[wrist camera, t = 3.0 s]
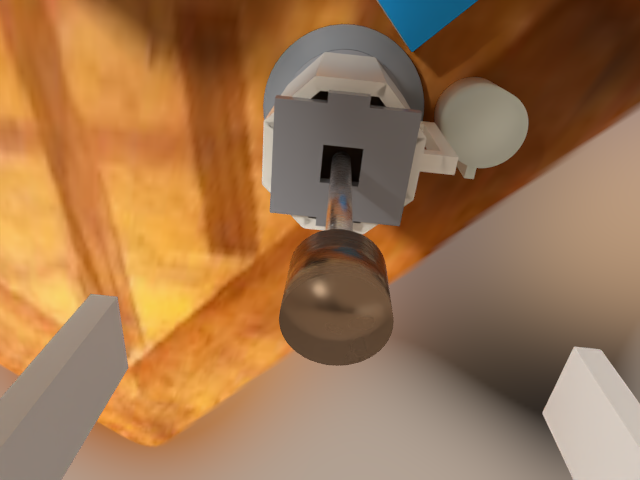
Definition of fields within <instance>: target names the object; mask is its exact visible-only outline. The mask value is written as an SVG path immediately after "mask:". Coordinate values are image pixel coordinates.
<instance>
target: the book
mask: <svg viewBox="0 0 640 480" xmlns="http://www.w3.org/2000/svg"><path fill="white" fill-rule="evenodd" d="M477 1H478V0H377V2H378V3H379V5H380V6H381V8H382V9H383V11H384V12H385V14H386V15H387V17H388V19H389V20H390V22H391V23H392V25H393V26H394V28H395V29H396V31H397V32H398V34H399V35H400V37H401V38H402V40H403V41H404V43H405V44H406V45H407V46H408V47H409V49H410V50H411V52H413V51H415V50H416V49H417V48H418V47H420V46H421V45H422V44H423V43H425V42H426V41H427V40H429V39H430V38H431V37H432V36H434V35H435V34H436V33H437V32H439V31H440V30H441V29H442V28H444V27H445V26H446V25H448V24H449V23H450V22H451V21H453V20H454V19H455V18H456V17H458V16H459V15H460V14H461V13H463V12H464V11H465V10H467V9H468V8H469V7H470V6H472V5H473V4H474V3H475V2H477Z"/></svg>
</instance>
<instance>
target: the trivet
mask: <svg viewBox="0 0 640 480" xmlns="http://www.w3.org/2000/svg"><path fill="white" fill-rule="evenodd" d="M337 49H352V50H358V51H361V52H364V53H367V54H369V55H371V56H373V57H375V58H376V59H378V60H379V61H381V62H382V63H383V64H384V65H385V66H386V67H387V68H388V69H389V70H390V72H391V73H392V74H393V76H394V78H395V79H396V81H397V83H398V85H399V87H400V90H401V93H402V95H403V97H404V98H405V100H406V102H407V104H408V105H409V107H410V109H413V110H420V111H421V112H422V117H421V121H423V115H424V95H423V88H422V85H421V81H420V78H419V75H418V73H417V70H416V68H415V66H414V65H413V63H412V61H411V60H410V58H409V57H408V56H407V54H406V53H405V52H404V51H403V50H402V49H401V48H400V47H399V46H398V45H397V44H396V43H395V42H394V41H393V40H391V39H390V38H388V37H387V36H386V35H384V34H382V33H380V32H378V31H376V30H374V29H371V28H368V27H365V26H359V25H354V24H337V25H330V26H326V27H322V28H319V29H316V30H314V31H312V32H309V33H308V34H306V35H304V36H303V37H301V38H299V39H298V40H297V41H296V42H294V43H293V44H292V45H291V46H290V47H289V48H288V49H287V50H286V51H285V52H284V53H283V54H282V56H281V57H280V58H279V60H278V61H277V63H276V64H275V66H274V68H273V70H272V72H271V74H270V76H269V79H268V82H267V85H266V89H265V94H264V104H263V107H264V120H265V119H266V117H267V115H268V114H269V112H270V111H271V109H272V108H273V106H274V103H275V97H276V95H281V94H282V93H283V91H284V90H285V88H286V87H287V85H288V84H289V83H290V82H291V80H292V78H293V77H294V76H295V74H296V73H297V72H298V70H299V69H300V68H301V67H302V66H303V65H304V64H305V63H307V62H308V61H309V60H310V59H312V58H314V57H315V56H317V55H319V54H322V53H324V52H327V51H331V50H337Z"/></svg>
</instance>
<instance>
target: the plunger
mask: <svg viewBox="0 0 640 480" xmlns="http://www.w3.org/2000/svg"><path fill="white" fill-rule="evenodd" d="M279 324H280V329H281V332H282V334H283V336H284V338H285V340H286V341H287V343H288V344H289V345H290V346H291V347H292V348H293V349H294V350H295V351H296V352H297V353H299V354H300V355H302V356H303V357H305V358H307V359H309V360H312V361H314V362H317V363H321V364H326V365H349V364H354V363H358V362H361V361H364V360H366V359H368V358H370V357H371V356H373V355H375V354H376V353H377V352H378V351H380V350H381V349H382V348H383V347H384V346H385V344H386V343H387V341H388V340H389V337H390V336H391V333H392V329H393V313H392V306H391V300H390V292H389V285H388V278H387V271H386V264H385V260H384V257H383V255H382V253H381V251H380V250H379V248H378V247H377V246H376V245H375V244H374V243H373V242H372V241H371V240H370V239H368V238H367V237H365V236H363V235H362V234H359V233H357V232H354V231H353V222H352V180H351V158H350V156H349V154H348V153H346V152H343V151H340V152H337V153H335V154H334V155H333V157H332V163H331V174H330V185H329V196H328V207H327V218H326V229H325V230H324V231H321V232H318V233H315V234H313V235H311V236H310V237H308V238H306V239H305V240H304V241H303V242H302V243H301V244H300V245H299V246H298V247H297V248H296V250H295V251H294V254H293V256H292V258H291V262H290V267H289V271H288V276H287V281H286V285H285V290H284V295H283V300H282V304H281V309H280V315H279Z"/></svg>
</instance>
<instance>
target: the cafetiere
mask: <svg viewBox="0 0 640 480" xmlns="http://www.w3.org/2000/svg"><path fill="white" fill-rule="evenodd" d="M421 117H422V112H421V111H420V110H413V109H410V107H409V105H408V104H407V102H406V100H405V98H404V97H403V95H402V93H401V90H400V87H399V85H398V83H397V81H396V79H395V78H394V76H393V74H392V73H391V72H390V70H389V69H388V68H387V67H386V66H385V65H384V64H383V63H382V62H381V61H379V60H378V59H376V58H375V57H373V56H371V55H369V54H367V53H364V52H361V51H358V50H352V49H337V50H331V51H327V52H324V53H322V54H319V55H317V56H315V57H314V58H312V59H310V60H309V61H308V62H307V63H305V64H304V65H303V66H302V67H301V68H300V69H299V70H298V72H297V73H296V74H295V76H294V77H293V78H292V80H291V82H290V83H289V84H288V85H287V87H286V88H285V90H284V91H283V93H282V94H281V95H276V97H275V103H274V106H273V108H272V109H271V111H270V112H269V114H268V115H267V117H266V119H265V120H264V132H263V165H262V185H263V186H264V187H265V188H266V189H267V190H268V191H269V192H270V193H271V199H270V212H271V213H280V214H290V215H291V216H292V217H293V218H294V219H295V220H296V221H297V222H298V223H299V224H300V225H301V226H302V228H303V227H304V228H307V229H316V230H325V229H326V218H327V207H328V196H329V185H330V174H331V163H332V157H333V155H334V154H335V153H337V152H340V151H343V152H346V153H348V154H349V156H350V158H351V180H352V222H353V231H354V232H357V233H359V234H364V233H366V232H367V231H369V230H370V229H372V228H373V227H375V226H376V225H378V224H384V225H394V226H400V222H401V217H402V212H403V207H404V206H406V205H407V204H408V203H410V202H411V201H413V200H414V196H415V191H416V186H417V182H418V177H419V172H420V171H421V172H430V173H439V174H449V175H454V174H455V170H456V166H457V162H458V158H459V157H458V156H457V154H456V153H455V151H454V150H453V148H452V147H451V146H450V144H449V143H448V141H447V140H446V138H445V137H444V135H443V134H442V132H441V131H440V130H439V128H438V127H437V125H436V124H435V122H425V121H421ZM425 147H426V149H427V150H425V149H424V148H425Z"/></svg>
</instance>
